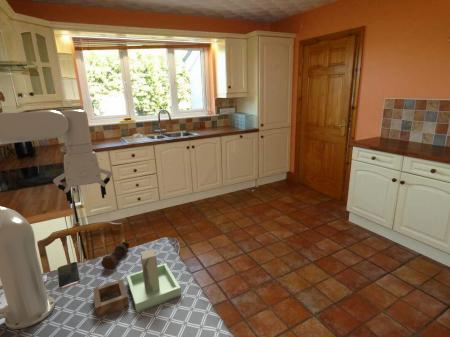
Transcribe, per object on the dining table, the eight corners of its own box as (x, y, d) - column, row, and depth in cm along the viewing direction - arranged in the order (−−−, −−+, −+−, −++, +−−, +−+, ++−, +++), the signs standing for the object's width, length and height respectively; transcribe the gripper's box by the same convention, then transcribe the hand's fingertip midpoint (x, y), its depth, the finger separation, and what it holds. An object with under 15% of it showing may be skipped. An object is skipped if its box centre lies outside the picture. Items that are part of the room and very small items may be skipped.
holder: (97, 318, 81) (95, 307, 80) (94, 297, 90) (93, 288, 89) (129, 306, 85) (127, 296, 84) (123, 287, 94) (122, 278, 93)
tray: (136, 312, 83) (135, 304, 82) (127, 283, 96) (126, 275, 96) (181, 295, 89) (180, 287, 88) (166, 270, 103) (165, 262, 102)
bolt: (128, 252, 120) (111, 272, 105) (118, 247, 120) (99, 266, 105) (133, 241, 118) (116, 261, 104) (123, 236, 118) (104, 254, 104)
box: (144, 285, 94) (139, 251, 91) (157, 281, 95) (153, 247, 92) (147, 294, 89) (142, 259, 86) (160, 290, 91) (156, 255, 88)
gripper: (46, 154, 81) (56, 208, 86) (109, 147, 89) (116, 198, 93) (49, 150, 88) (58, 201, 92) (107, 145, 95) (114, 192, 99)
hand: (87, 199), depth 92 cm, fingers open, 9 cm apart
